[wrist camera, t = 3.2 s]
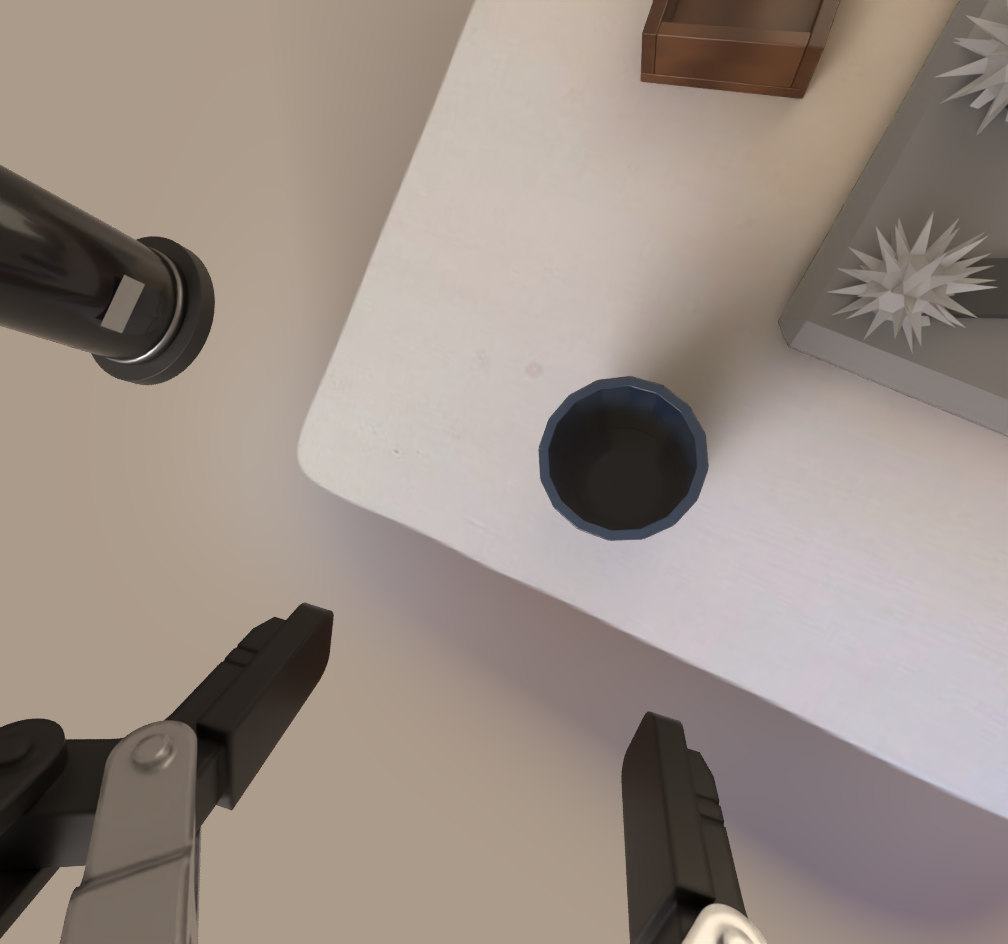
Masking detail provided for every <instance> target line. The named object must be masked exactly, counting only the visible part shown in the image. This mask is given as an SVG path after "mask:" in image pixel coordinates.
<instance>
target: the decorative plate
mask: <svg viewBox="0 0 1008 944" xmlns="http://www.w3.org/2000/svg"><path fill="white" fill-rule="evenodd" d="M778 323H779V325H780V328H781V330H782V333H783V335H784V337H785V340H786V342H787V345H788V347H790V348H793V349H795V350H798V351H800V352H802V353H805V354H807V355H810V356H812V357H815V358H817V359H819V360H822V361H824V362H827V363H829V364H832V365H834V366H836V367H839V368H841V369H844V370H846V371H849V372H851V373H854V374H856V375H858V376H861V377H863V378H866V379H868V380H871V381H873V382H875V383H878V384H880V385H883V386H885V387H888V388H890V389H892V390H895V391H897V392H900V393H902V394H905V395H907V396H909V397H912V398H914V399H917V400H919V401H922V402H924V403H926V404H929V405H931V406H934V407H936V408H939V409H941V410H944V411H946V412H948V413H951V414H953V415H956V416H958V417H961V418H963V419H965V420H968V421H970V422H973V423H975V424H978V425H980V426H982V427H985V428H987V429H990V430H992V431H995V432H997V433H999V434H1002V435H1004V436H1007V437H1008V0H960V1H959V3H958V5H957V7H956V8H955V10H954V12H953V14H952V15H951V17H950V19H949V21H948V22H947V24H946V26H945V28H944V29H943V31H942V33H941V35H940V37H939V38H938V40H937V42H936V44H935V45H934V47H933V49H932V51H931V52H930V54H929V56H928V58H927V59H926V61H925V63H924V65H923V67H922V68H921V70H920V72H919V74H918V75H917V77H916V79H915V81H914V82H913V84H912V86H911V88H910V89H909V91H908V93H907V95H906V97H905V98H904V100H903V102H902V104H901V105H900V107H899V109H898V111H897V112H896V114H895V116H894V118H893V119H892V121H891V123H890V125H889V127H888V128H887V130H886V132H885V134H884V135H883V137H882V139H881V141H880V142H879V144H878V146H877V148H876V149H875V151H874V153H873V155H872V157H871V158H870V160H869V162H868V164H867V165H866V167H865V169H864V171H863V172H862V174H861V176H860V178H859V179H858V181H857V183H856V185H855V186H854V188H853V190H852V192H851V194H850V195H849V197H848V199H847V201H846V202H845V204H844V206H843V208H842V209H841V211H840V213H839V215H838V216H837V218H836V220H835V222H834V224H833V225H832V227H831V229H830V231H829V232H828V234H827V236H826V238H825V239H824V241H823V243H822V245H821V246H820V248H819V250H818V252H817V254H816V255H815V257H814V259H813V261H812V262H811V264H810V266H809V268H808V269H807V271H806V273H805V275H804V276H803V278H802V280H801V282H800V284H799V285H798V287H797V289H796V291H795V292H794V294H793V296H792V298H791V299H790V301H789V303H788V305H787V306H786V308H785V310H784V312H783V314H782V315H781V317H780V319H779V321H778Z"/></svg>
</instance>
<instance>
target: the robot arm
mask: <svg viewBox="0 0 1008 944" xmlns="http://www.w3.org/2000/svg"><path fill="white" fill-rule="evenodd" d="M186 308H187V287H186V283H185V279H184V276H183V274H182V272H181V270H180V268H179V267H178V265H177V264H176V263H175V262H174V261H173V260H172V259H171V258H170V257H168V256H167V255H165V254H163V253H161V252H160V251H158V250H156V249H153V248H150V247H148V246H146V245H144V244H142V243H140V242H139V241H137V240H135V239H133V238H131V237H130V236H128V235H126V234H124V233H122V232H121V231H119V230H117V229H116V228H114V227H112V226H110V225H108V224H107V223H105V222H103V221H101V220H99V219H98V218H96V217H94V216H92V215H90V214H88V213H86V212H85V211H83V210H81V209H79V208H78V207H76V206H74V205H72V204H70V203H68V202H67V201H65V200H63V199H61V198H60V197H58V196H56V195H54V194H52V193H50V192H49V191H47V190H45V189H43V188H41V187H40V186H38V185H36V184H34V183H32V182H31V181H29V180H27V179H25V178H23V177H21V176H20V175H18V174H16V173H14V172H12V171H11V170H9V169H7V168H5V167H3V166H1V165H0V326H2V327H6V328H9V329H13V330H16V331H19V332H23V333H26V334H29V335H33V336H36V337H40V338H43V339H46V340H50V341H53V342H56V343H60V344H63V345H67V346H70V347H73V348H76V349H80V350H83V351H86V352H89V353H93V354H96V355H100V356H103V357H106V358H108V359H110V360H112V361H115V362H119V363H122V364H126V365H140V364H144V363H147V362H149V361H151V360H153V359H155V358H157V357H158V356H159V355H161V354H162V353H163V352H164V351H165V350H166V349H167V348H168V347H169V346H170V345H171V343H172V342H173V341H174V339H175V338H176V336H177V334H178V333H179V331H180V328H181V326H182V324H183V321H184V317H185V313H186ZM333 616H334V615H333V612H332V611H330V610H326V609H323V608H320V607H317V606H314V605H310V604H308V603H302V604H301V605H300V606H298V607H297V609H296V610H295V611H294V612H293V613H292V614H291V615H290V616H289V618H288V619H287V620H283V619H280V618H277V617H273V618H272V619H270V620H268V621H266V622H265V623H262V624H261V625H259V626H257V627H255V628H253V629H252V630H251V631H250V633H249V634H248V635H247V636H246V637H245V638H244V639H243V640H242V641H241V642H240V643H239V644H238V646H237V648H235V649H233V650H232V651H231V652H230V653H229V654H228V656H227V657H226V658H225V660H224V661H223V662H221V663H220V664H219V665H218V666H217V667H216V668H215V669H214V670H213V671H212V672H211V673H210V674H209V675H208V677H206V679H205V680H204V681H203V682H202V683H201V684H200V685H199V686H198V687H197V688H196V689H195V690H194V691H193V692H192V693H191V694H190V695H189V696H188V698H186V699H185V701H184V702H183V703H182V704H181V705H180V706H179V707H178V708H177V709H176V710H175V711H174V712H173V713H172V714H171V715H170V716H169V717H168V718H166V719H165V720H164V721H159V722H154V723H151V724H148V725H145V726H143V727H141V728H138V729H137V730H135V731H133V732H131V733H130V734H129V735H127V736H126V737H125V738H120V739H78V740H77V739H73V740H72V739H70V740H69V739H68V740H65V736H64V732H63V729H62V728H61V726H60V725H59V724H57V723H56V722H54V721H51V720H48V719H26V720H22V721H17V722H14V723H11V724H8V725H5V726H3V727H0V938H1V937H2V936H3V935H4V934H5V932H6V931H7V930H8V929H9V928H10V926H11V925H12V924H13V923H14V922H15V920H16V919H17V918H18V917H19V916H20V914H21V913H22V912H23V911H24V910H25V908H26V907H27V906H28V905H29V904H30V902H31V901H32V900H33V899H34V898H35V896H36V895H37V894H38V893H39V891H40V890H41V889H42V888H43V887H44V886H45V884H46V883H47V882H48V881H49V880H50V878H51V877H52V876H53V875H54V874H55V872H56V871H57V870H58V869H59V867H68V866H84V865H86V867H85V871H84V876H83V879H82V882H81V884H80V886H79V887H76V888H75V889H74V891H73V893H72V895H71V898H70V901H69V904H68V908H67V912H66V916H65V921H64V926H63V931H62V935H61V940H60V944H198V918H199V885H200V884H199V883H200V852H201V825H202V824H203V822H204V821H205V819H206V818H207V817H208V815H209V814H210V812H211V811H212V810H213V808H214V807H215V805H218V806H221V807H224V808H227V809H230V810H233V808H234V807H235V805H236V804H237V802H238V801H239V799H240V798H241V796H242V795H243V793H244V792H245V790H246V789H247V787H248V786H249V784H250V783H251V781H252V780H253V779H254V777H255V776H256V774H257V773H258V771H259V770H260V768H261V767H262V765H263V764H264V762H265V760H266V759H267V758H268V756H269V755H270V753H271V752H272V750H273V749H274V747H275V746H276V744H277V743H278V741H279V740H280V738H281V737H282V735H283V734H284V732H285V731H286V729H287V728H288V727H289V725H290V724H291V722H292V721H293V719H294V718H295V716H296V715H297V713H298V712H299V710H300V709H301V707H302V706H303V704H304V703H305V701H306V700H307V698H308V697H309V695H310V694H311V692H312V691H313V689H314V688H315V686H316V685H317V683H318V682H319V680H320V679H321V677H322V675H323V673H324V671H325V668H326V666H327V663H328V659H329V653H330V645H331V636H332V626H333ZM622 799H623V818H624V837H625V854H626V855H625V856H626V875H627V894H628V913H629V931H630V944H767V942H766V941H765V939H764V937H763V936H762V935H761V933H760V932H759V930H758V929H757V928H756V927H755V926H754V925H753V923H751V921H750V920H749V919H748V917H747V914H746V911H745V908H744V904H743V899H742V895H741V891H740V887H739V883H738V878H737V874H736V870H735V866H734V862H733V857H732V853H731V849H730V844H729V840H728V836H727V832H726V828H725V827H724V819H723V815H722V810H721V807H720V806H719V798H718V793H717V789H716V785H715V781H714V777H713V775H712V773H711V771H710V769H709V768H708V766H707V764H706V762H705V761H704V759H703V757H702V756H701V754H700V752H697V751H694V750H691V749H688V748H687V745H686V740H685V735H684V729H683V726H682V724H681V722H680V721H678V720H675V719H671V718H669V717H665V716H662V715H659V714H656V713H653V712H647V713H646V714H645V715H644V717H643V719H642V721H641V723H640V725H639V727H638V729H637V731H636V733H635V735H634V737H633V739H632V741H631V743H630V745H629V747H628V749H627V751H626V754H625V757H624V761H623V767H622Z"/></svg>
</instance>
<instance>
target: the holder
mask: <svg viewBox="0 0 1008 944" xmlns="http://www.w3.org/2000/svg"><path fill="white" fill-rule="evenodd" d="M839 2H840V0H653V3H652V6H651V9H650V12H649V15H648V18H647V21H646V24H645V27H644V30H643V33H642V59H641V81H642V82H651V83H661V84H670V85H680V86H689V87H698V88H708V89H717V90H727V91H736V92H745V93H755V94H764V95H774V96H783V97H793V98H803V96H804V94H805V92H806V89H807V87H808V84H809V82H810V80H811V77H812V75H813V73H814V70H815V68H816V65H817V63H818V61H819V58H820V56H821V54H822V51H823V49H824V46H825V43H826V40H827V37H828V34H829V31H830V29H831V26H832V23H833V20H834V17H835V14H836V11H837V8H838V5H839Z"/></svg>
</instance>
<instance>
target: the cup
mask: <svg viewBox="0 0 1008 944" xmlns="http://www.w3.org/2000/svg"><path fill="white" fill-rule="evenodd" d="M539 466H540V479H541V482H542V484H543V486H544V488H545V490H546V492H547V495H548V497H549V499H550V501H551V503H552V505H553V507H555V509H556V510H557V511H558V512H559V513H560V514H561V515H562V516H564V517H565V518H566V519H567V520H568V521H569V522H570V523H571V524H572V525H574V526H575V527H576V528H577V529H579V530H581V531H584V532H586V533H589V534H592V535H595V536H597V537H600V538H603V539H606V540H610V541H615V540H641V539H645V538H647V537H650V536H652V535H654V534H656V533H658V532H661V531H663V530H665V529H667V528H669V527H672V526H673V525H675V524H676V523H677V522H678V521H679V520H680V519H681V518H682V516H683V515H684V514H685V513H686V512H687V511H688V510H689V509H690V508H691V507H692V506H693V505H694V503H695V502H696V501H697V499H698V498H699V495H700V492H701V489H702V486H703V483H704V480H705V477H706V474H707V471H708V467H709V465H708V454H707V443H706V435H705V432H704V430H703V429H702V427H701V425H700V423H699V421H698V420H697V418H696V416H695V414H694V412H693V411H692V409H691V407H690V406H689V405H688V404H687V403H686V402H685V401H683V400H682V399H681V398H679V397H678V396H677V395H676V394H674V393H673V392H672V391H670V390H669V389H668V388H666V387H665V386H664V385H662V384H658V383H655V382H651V381H647V380H643V379H640V378H636V377H632V376H631V377H630V376H627V377H618V378H610V379H601V380H597V381H595V382H593V383H591V384H589V385H587V386H585V387H583V388H581V389H580V390H578V391H576V392H574V393H572V394H570V396H568V397H567V398H566V399H565V401H564V402H563V403H562V404H561V405H560V406H559V407H558V409H557V410H556V411H555V412H554V413H553V414H552V416H551V417H550V418H549V420H548V422H547V425H546V428H545V431H544V434H543V437H542V440H541V443H540V446H539Z"/></svg>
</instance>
